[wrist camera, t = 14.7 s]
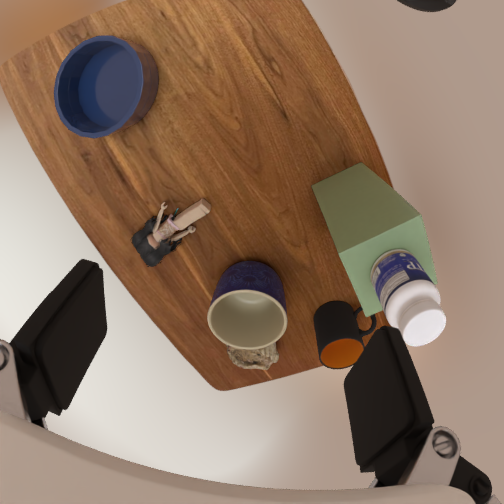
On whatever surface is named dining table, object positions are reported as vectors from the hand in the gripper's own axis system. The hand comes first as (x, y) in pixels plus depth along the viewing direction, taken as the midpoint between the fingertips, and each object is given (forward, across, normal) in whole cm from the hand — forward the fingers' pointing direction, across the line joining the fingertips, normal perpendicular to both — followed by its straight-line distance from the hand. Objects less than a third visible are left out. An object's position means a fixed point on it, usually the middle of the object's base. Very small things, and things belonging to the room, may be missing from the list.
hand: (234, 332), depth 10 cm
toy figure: (+40, +12, +17) cm, 45 cm away
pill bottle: (+18, -15, +5) cm, 24 cm away
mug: (+40, -23, +28) cm, 54 cm away
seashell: (+40, -8, +39) cm, 57 cm away
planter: (+40, -4, +25) cm, 48 cm away
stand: (+40, -15, +5) cm, 43 cm away
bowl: (+40, +25, -5) cm, 48 cm away
